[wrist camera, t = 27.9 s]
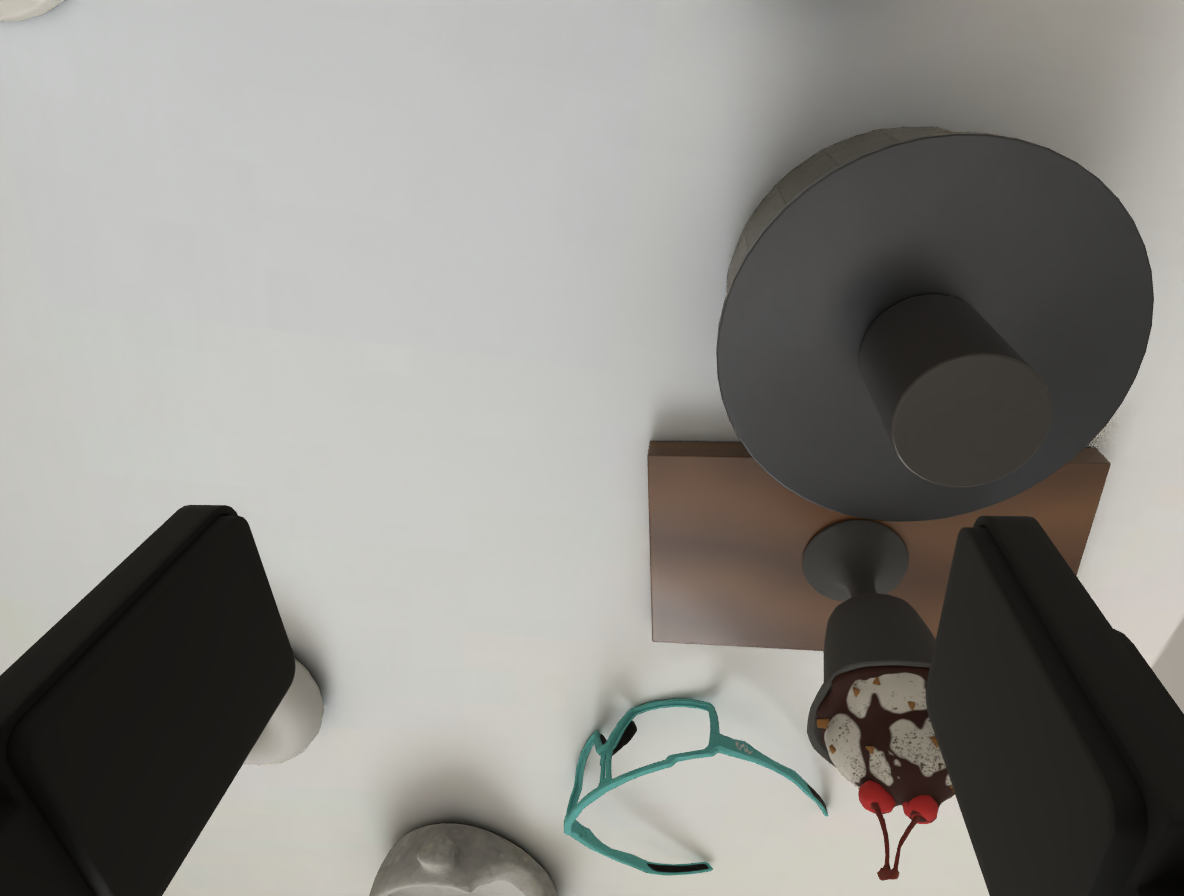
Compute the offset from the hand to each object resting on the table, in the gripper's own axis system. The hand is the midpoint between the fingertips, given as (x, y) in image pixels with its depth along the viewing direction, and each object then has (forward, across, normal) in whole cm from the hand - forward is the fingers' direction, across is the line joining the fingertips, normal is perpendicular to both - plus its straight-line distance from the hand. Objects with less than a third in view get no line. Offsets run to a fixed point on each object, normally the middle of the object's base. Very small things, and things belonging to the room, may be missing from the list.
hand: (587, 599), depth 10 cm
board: (+24, -9, +17) cm, 31 cm away
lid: (+18, -9, +4) cm, 21 cm away
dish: (+25, +15, +48) cm, 56 cm away
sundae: (+23, -9, +17) cm, 30 cm away
